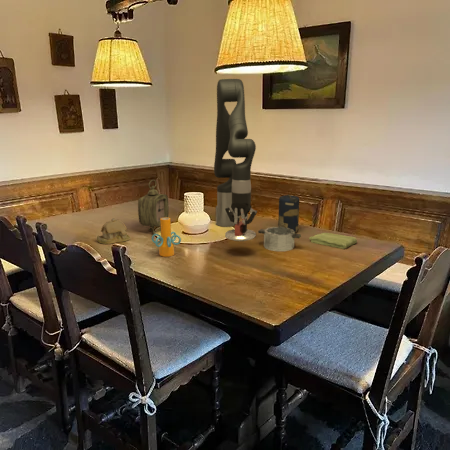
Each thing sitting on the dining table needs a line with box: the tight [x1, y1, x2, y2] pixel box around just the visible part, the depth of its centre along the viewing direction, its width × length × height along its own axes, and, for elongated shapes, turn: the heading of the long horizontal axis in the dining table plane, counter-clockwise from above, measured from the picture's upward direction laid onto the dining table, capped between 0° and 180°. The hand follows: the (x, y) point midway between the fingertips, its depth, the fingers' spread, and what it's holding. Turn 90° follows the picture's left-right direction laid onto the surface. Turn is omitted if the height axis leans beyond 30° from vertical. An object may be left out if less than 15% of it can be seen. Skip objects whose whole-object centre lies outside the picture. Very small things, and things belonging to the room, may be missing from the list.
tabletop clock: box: [137, 179, 169, 236], centre depth 203 cm, size 14×9×25 cm, turn 161°
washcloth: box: [309, 232, 358, 250], centre depth 188 cm, size 13×18×3 cm
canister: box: [277, 194, 300, 233], centre depth 203 cm, size 10×10×18 cm
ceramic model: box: [96, 218, 132, 245], centre depth 191 cm, size 14×11×10 cm
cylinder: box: [151, 217, 182, 258], centre depth 171 cm, size 12×10×15 cm
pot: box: [257, 226, 302, 252], centre depth 182 cm, size 18×12×7 cm
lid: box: [224, 220, 257, 242], centre depth 172 cm, size 12×12×6 cm
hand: (240, 232), depth 173 cm, fingers closed on lid
